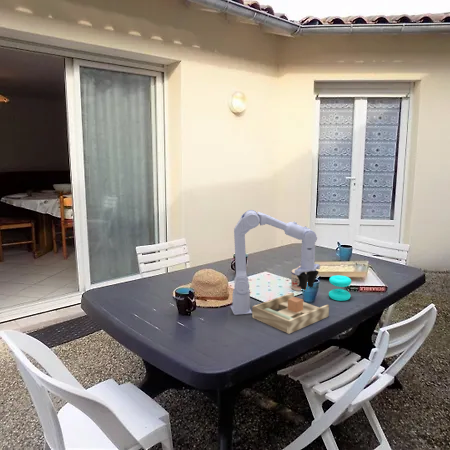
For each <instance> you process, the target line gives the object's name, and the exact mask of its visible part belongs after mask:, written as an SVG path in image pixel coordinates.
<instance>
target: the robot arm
mask: <svg viewBox="0 0 450 450" xmlns="http://www.w3.org/2000/svg"><path fill="white" fill-rule="evenodd" d="M259 225H260V226H264V225H269V226H271V227H274V228H277V229H279V230H281V231H283V232H284V234H285V235H286V236H289V237H292V238H294V239H297V240H298V241H299V240H300V241H301V248H300V249H301V251H300V266H301V267H299V266H298V267H299V268H298V267H297V268H298V269H296V268H295V269H296V270H295V275H297V277H298V279H299V282H300V286H301V289H304V290H306V287H307V282H308V286H309V287H310V288H313V287H314V285H315V284H314V283H315V281H316V278H317V276H318V275H319V273H320V272H319V270H320V268H321V265H320V264H318V263H315V259H316V257H315V255H316V242H317V240H318V237H317V234H316V232H315V230H312V229H311V228H309V227H307V226H302V225H300V224H298V222H296V221H289V222H285V221H283V220H280V219H278V218H277V217H273V216H271V215H269V214H266V213H264V212H261V211H256V210H253V209H248V210H247V211H245V212H244V213H242V215H241V216H240V218H239V219H238V222H237V223H236V225H235V227H234V228H233V234H234V235H233V236H234V237H233V238H234V258H235V262H234V263H235V276H234V278H233V282H234V287H233V290H232V301H231V302H232V305H230V309H231V311H232V313H233V315H235V316H237V315H251V314H252V309H251V306H250V305H251V299H250V298H251V290H250V284H249V278H248V277H249V276H247V256H246V235H247V233H248V232H249V231H250V230H252V229H254V228H257V227H258V226H259ZM305 272H306V274H305ZM309 287H308V288H309ZM306 291H307V290H306Z"/></svg>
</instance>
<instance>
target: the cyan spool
mask: <svg viewBox="0 0 450 450" xmlns="http://www.w3.org/2000/svg"><path fill="white" fill-rule="evenodd" d="M328 281H329V283H330V284H331V285H333V286H335V287H337V288H332V289H331V290H330V291H328V297H329V298H330V299H331V300H335V301H338V302H339V301H340V302H344V301H348V300H350V299H351V293H350V292H349V291H348V290H346V289H342V288H346V287H349V286H350V285H351V284H352V279H351V278H350V277H348V276H346V275H340V274H338V275H337V274H336V275H331V276H330V277H329V280H328Z"/></svg>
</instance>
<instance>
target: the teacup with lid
mask: <svg viewBox="0 0 450 450" xmlns="http://www.w3.org/2000/svg"><path fill="white" fill-rule="evenodd" d="M299 267H301V265H299V266H298V267H296V268H293V269H292V270H291V271H290V274H291V275H290V276H291V277H290V278H291V282H290V284H291V285H290V287H291V288H290V289H292V290H293V291H298V292H302V291H301V286H300V282H299V279H298V277H297V275H295V270H296V269H298V268H299ZM305 274H306V272H305Z"/></svg>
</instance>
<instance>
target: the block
mask: <svg viewBox="0 0 450 450" xmlns="http://www.w3.org/2000/svg"><path fill="white" fill-rule="evenodd" d="M303 302H304V299H302V298H301V297H298V296H294V297H293V298H290V299H288V310H291V311H293V312H299V311H301V310H303Z"/></svg>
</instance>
